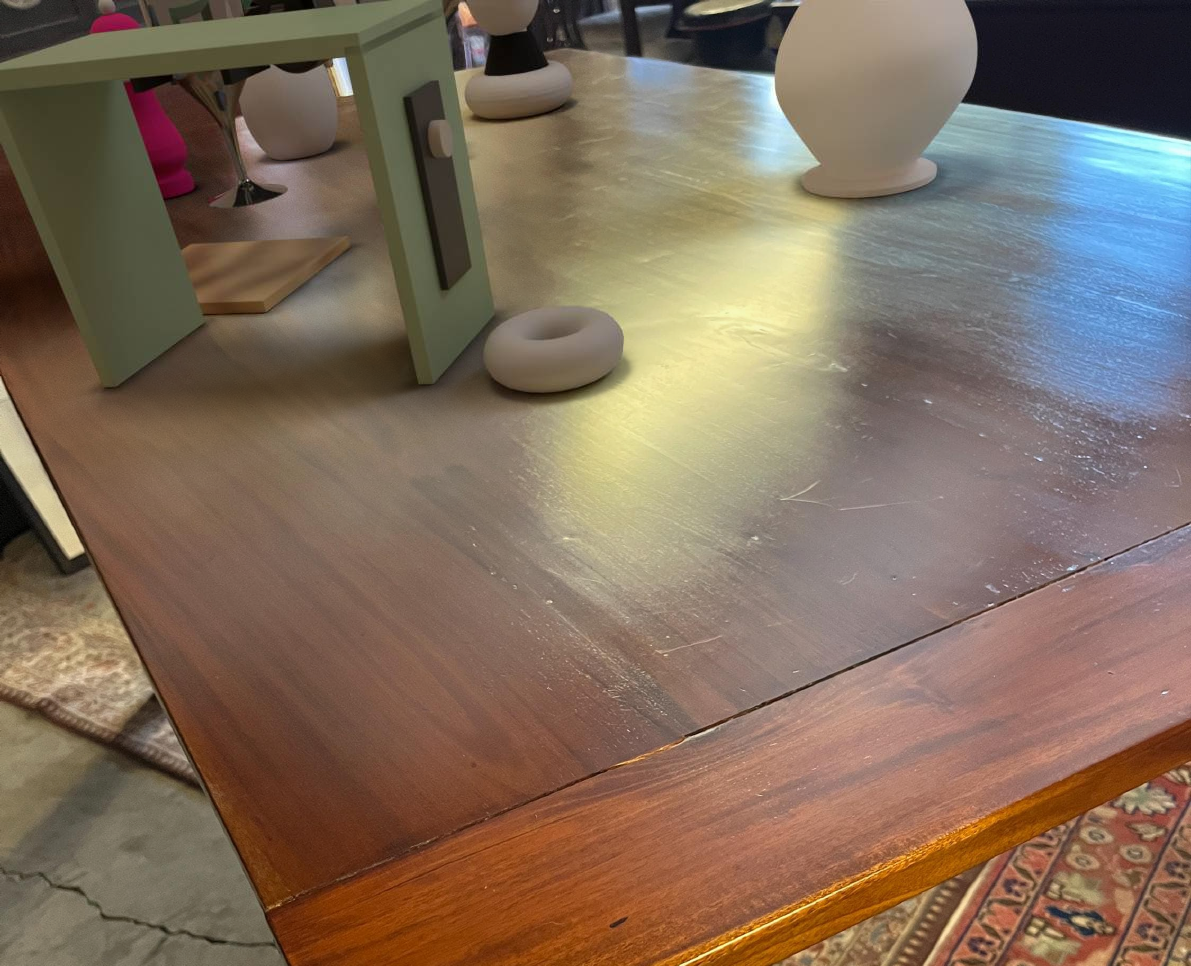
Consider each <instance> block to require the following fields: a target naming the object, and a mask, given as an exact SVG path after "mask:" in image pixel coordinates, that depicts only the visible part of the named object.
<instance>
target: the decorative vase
mask: <svg viewBox="0 0 1191 966" xmlns="http://www.w3.org/2000/svg"><path fill="white" fill-rule="evenodd" d="M977 63H978V39H977V31H976V26H975V23H974V20H973V17H972V14H971V12H970V10H969V7H968V6H967V4H966V1H965V0H802V1H801V2H800V4H799V6H798V7H797V9H796V11H795V12H794V14H793V16H792V18H791V20H790V22H789V24H788V26H787V27H786V30H785V32H784V34H783V37H782V39H781V42H780V44H779V47H778V52H777V55H776V60H775V66H774V67H775V68H774V91H775V97H776V100H777V102H778V105H779V107H780V109H781V111H782V113H783V115H784V116H785V118H786V120H787V122H788V123H789V124H790V126H791V128H792V129H793V130H794V132H795V133H796V135H797V136H798V137H799V139H800V140H801V142H803V144H804V145H805V147H806V148H807V149H808V150H809V152H810V153H811V154H812V156H813V157H814V159H815V160H816V161H817V162H818V163H819V164H818V165H816V166H813V167H811V168H810V169H808V170H806V172H804V173H803V175H802V177H801V179H802V181H801V182H802V184H801V185H802V188H803V189H804V190H805V191H807V192H809V193H812V194H815V195H818V196H823V197H830V198H843V199H844V198H845V199H847V198H849V199H854V198H855V199H857V198H859V199H860V198H874V197H875V198H876V197H882V196H883V197H884V196H891V195H895V194H900V193H905V192H908V191H912V190H915V189H918V188H921V187H924V186H925V185H928V184H929V183H932V182H933V180H934V179H936V177H937V173H938V172H937V171H938V166H937V164H936V163H935V162H934V161H932V160H931V159H928V158H924V157H921V155H922V154H923V153H924V152H925V150H926V149H927V148H928V147H929V146H930V144H931V143H932V142H933V140H935V138H936V137H937V135H938V134H939V133H940V132H941V130H942V129H943V128H944V126H945V125H946V123H947V122H948V121H949V120H950V118H951V117H952V116H953V114H954V113H955V111H956V110H957V108H958V107H959V105H960V104H961V102H962V101H963V100H964V98H965V96H966V94H967V93H968V91H969V89H970V87H971V85H972V84H973V83H972V82H973V80H974V77H975V73H976V69H977Z"/></svg>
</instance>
